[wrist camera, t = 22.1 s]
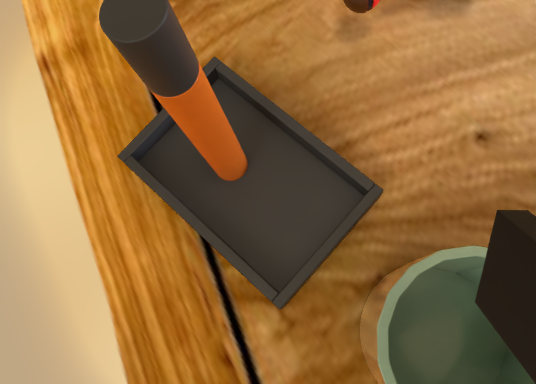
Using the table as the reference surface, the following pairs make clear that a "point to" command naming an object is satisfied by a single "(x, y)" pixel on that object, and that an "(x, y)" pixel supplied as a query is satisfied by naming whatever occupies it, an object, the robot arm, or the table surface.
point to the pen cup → (435, 325)
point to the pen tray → (257, 188)
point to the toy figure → (361, 5)
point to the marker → (174, 77)
